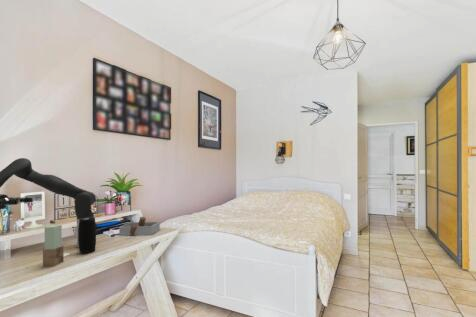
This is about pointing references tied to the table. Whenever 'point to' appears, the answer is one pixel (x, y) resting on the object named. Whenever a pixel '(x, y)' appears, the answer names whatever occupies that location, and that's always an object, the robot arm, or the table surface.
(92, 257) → the table surface
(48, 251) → the walnut brick
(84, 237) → the portable speaker
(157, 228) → the organizer tray
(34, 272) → the table surface
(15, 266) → the table surface
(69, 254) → the page
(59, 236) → the sage brick
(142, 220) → the wooden block set
